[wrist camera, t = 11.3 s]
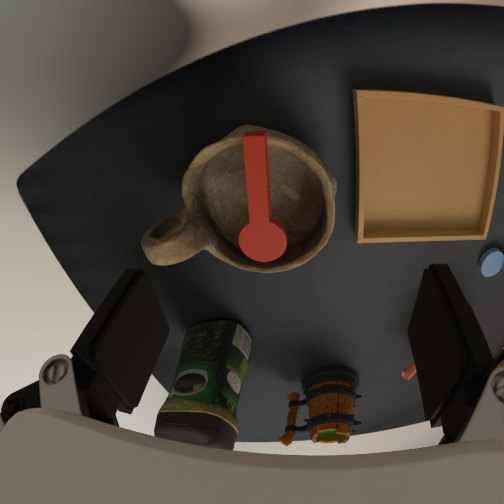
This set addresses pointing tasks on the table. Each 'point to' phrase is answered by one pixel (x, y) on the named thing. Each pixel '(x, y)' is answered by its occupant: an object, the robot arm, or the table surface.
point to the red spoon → (260, 203)
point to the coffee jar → (207, 386)
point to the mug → (325, 405)
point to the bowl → (236, 205)
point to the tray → (424, 166)
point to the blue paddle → (491, 262)
